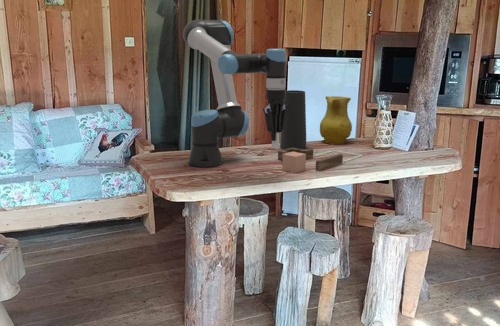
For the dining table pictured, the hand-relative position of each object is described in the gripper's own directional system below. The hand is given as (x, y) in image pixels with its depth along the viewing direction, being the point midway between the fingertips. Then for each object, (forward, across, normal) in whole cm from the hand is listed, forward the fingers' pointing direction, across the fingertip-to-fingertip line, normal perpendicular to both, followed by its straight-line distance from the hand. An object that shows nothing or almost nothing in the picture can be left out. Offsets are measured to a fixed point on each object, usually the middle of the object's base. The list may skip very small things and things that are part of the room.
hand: (275, 148), depth 196 cm
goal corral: (+11, +48, +1) cm, 49 cm away
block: (+12, +13, +1) cm, 18 cm away
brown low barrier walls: (+11, +28, +5) cm, 31 cm away
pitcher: (+11, +77, +21) cm, 81 cm away
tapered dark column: (+11, +49, +29) cm, 58 cm away
